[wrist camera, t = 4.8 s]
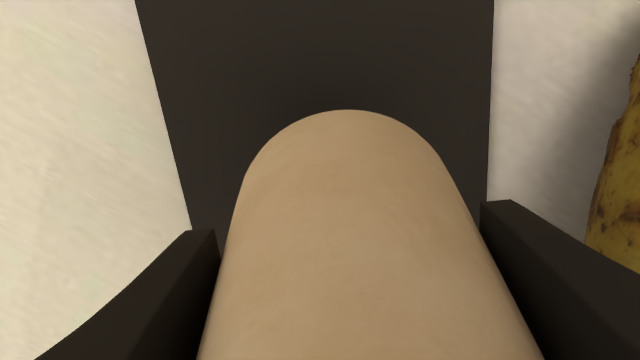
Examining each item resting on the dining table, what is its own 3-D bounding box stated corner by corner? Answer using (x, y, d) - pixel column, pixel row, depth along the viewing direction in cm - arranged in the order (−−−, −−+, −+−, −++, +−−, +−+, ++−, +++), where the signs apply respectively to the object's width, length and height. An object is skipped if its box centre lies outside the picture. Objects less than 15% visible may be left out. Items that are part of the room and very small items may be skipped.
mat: (480, 317, 25) (481, 322, 25) (222, 341, 25) (221, 346, 25) (497, -168, 16) (500, -170, 16) (106, -120, 17) (103, -121, 16)
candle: (195, 204, 14) (-10, 728, 5) (351, 58, 12) (454, 456, 3) (340, 321, 16) (374, 855, 7) (493, 207, 14) (801, 721, 5)
